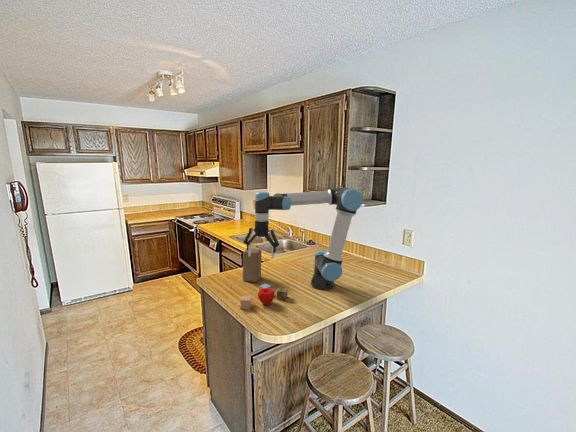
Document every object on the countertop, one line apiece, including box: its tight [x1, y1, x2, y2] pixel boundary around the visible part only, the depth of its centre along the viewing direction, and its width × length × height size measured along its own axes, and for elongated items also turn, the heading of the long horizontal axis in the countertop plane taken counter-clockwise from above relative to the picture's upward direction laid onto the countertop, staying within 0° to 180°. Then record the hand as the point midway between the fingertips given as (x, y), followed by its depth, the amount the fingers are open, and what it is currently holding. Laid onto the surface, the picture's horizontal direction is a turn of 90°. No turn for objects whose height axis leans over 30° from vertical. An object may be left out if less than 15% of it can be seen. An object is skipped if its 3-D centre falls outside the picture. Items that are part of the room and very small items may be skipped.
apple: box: [257, 288, 275, 306], centre depth 151 cm, size 9×9×8 cm
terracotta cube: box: [240, 295, 252, 310], centre depth 147 cm, size 5×5×5 cm
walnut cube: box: [276, 287, 288, 301], centre depth 158 cm, size 5×5×5 cm
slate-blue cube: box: [258, 283, 272, 291], centre depth 162 cm, size 5×5×5 cm
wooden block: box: [242, 247, 262, 283], centre depth 181 cm, size 10×10×20 cm
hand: (261, 257), depth 155 cm, fingers open, 13 cm apart
